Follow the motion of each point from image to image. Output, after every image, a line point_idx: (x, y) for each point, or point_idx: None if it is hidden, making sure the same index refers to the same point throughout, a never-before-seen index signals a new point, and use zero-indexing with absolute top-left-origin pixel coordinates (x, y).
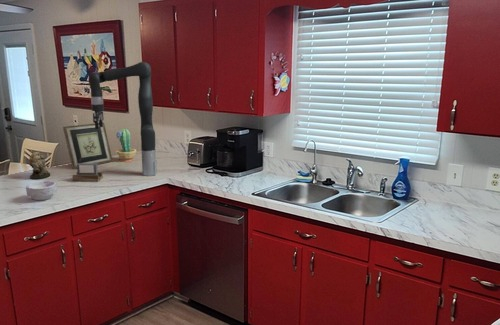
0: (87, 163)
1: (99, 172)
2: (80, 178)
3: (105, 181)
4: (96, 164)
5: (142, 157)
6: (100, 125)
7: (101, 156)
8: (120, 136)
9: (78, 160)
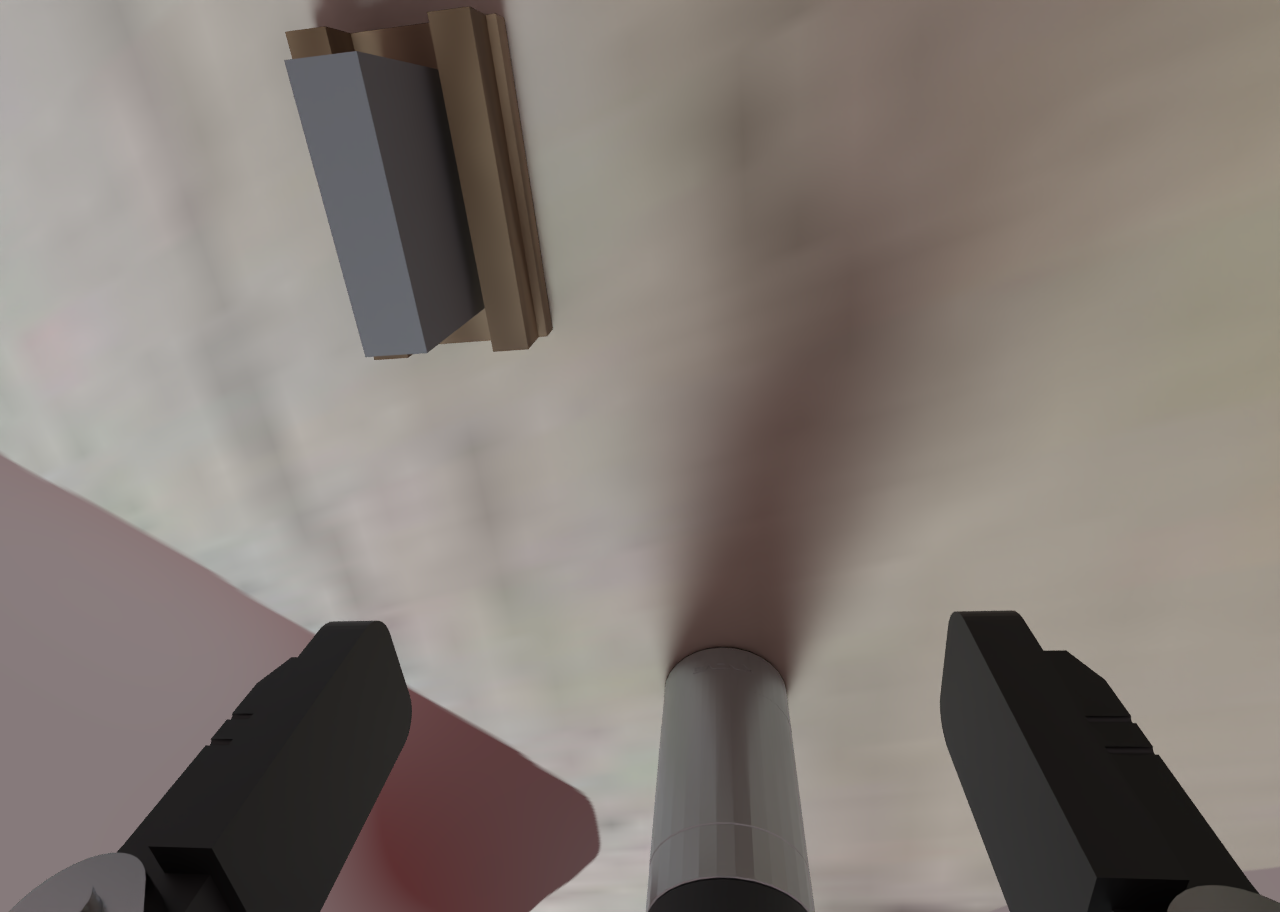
0: (390, 211)
1: (504, 324)
2: None
3: (424, 406)
4: (400, 352)
5: (676, 805)
6: (976, 709)
7: None
8: None
9: None
